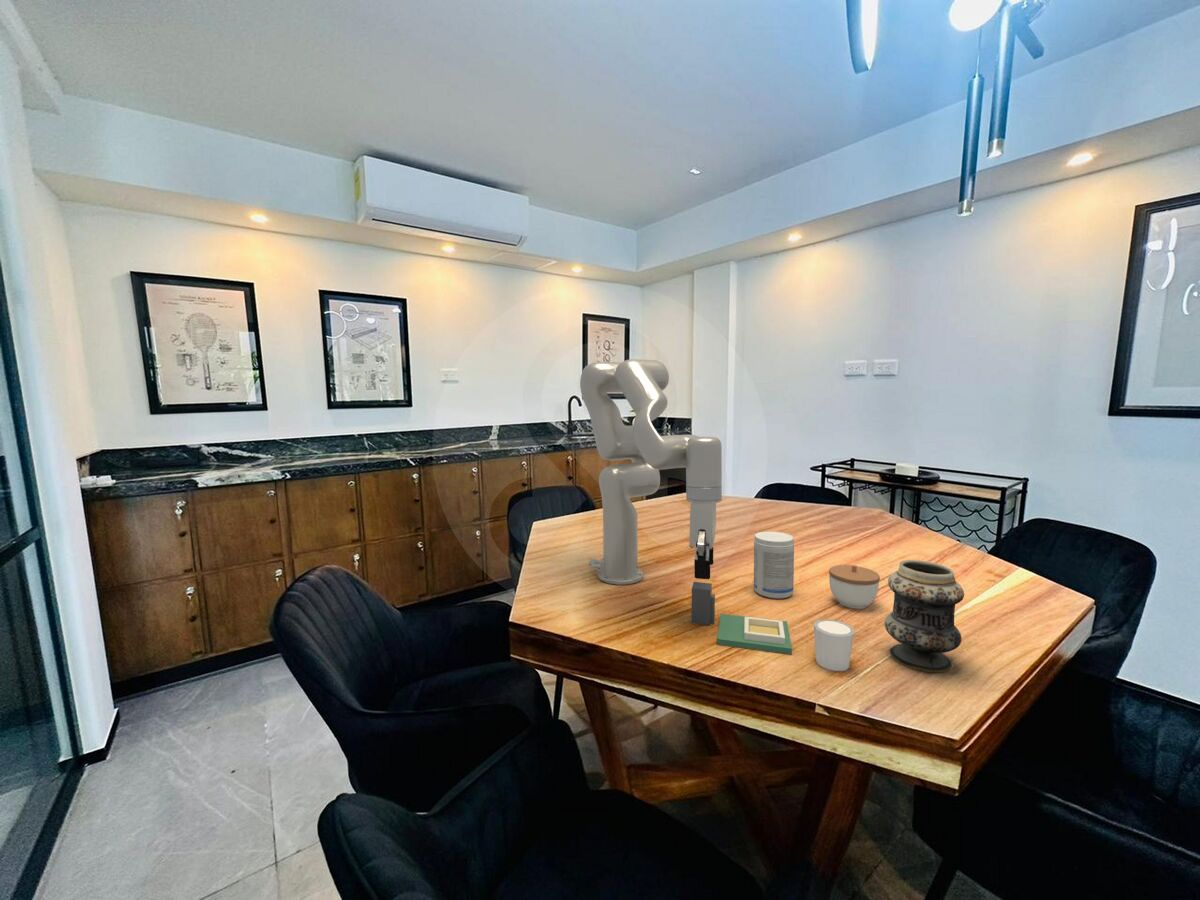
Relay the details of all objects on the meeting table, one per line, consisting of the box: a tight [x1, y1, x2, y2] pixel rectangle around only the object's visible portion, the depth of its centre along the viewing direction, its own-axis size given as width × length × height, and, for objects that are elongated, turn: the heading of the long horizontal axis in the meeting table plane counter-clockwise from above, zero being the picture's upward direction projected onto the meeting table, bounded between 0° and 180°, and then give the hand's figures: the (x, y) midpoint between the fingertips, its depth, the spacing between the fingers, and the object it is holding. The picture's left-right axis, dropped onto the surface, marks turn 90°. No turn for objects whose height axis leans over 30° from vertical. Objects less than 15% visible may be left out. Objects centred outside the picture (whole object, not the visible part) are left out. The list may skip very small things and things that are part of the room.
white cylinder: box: [813, 618, 855, 672], centre depth 90 cm, size 7×7×7 cm
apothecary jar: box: [883, 559, 965, 674], centre depth 91 cm, size 12×12×18 cm
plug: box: [690, 581, 716, 626], centre depth 108 cm, size 5×4×8 cm
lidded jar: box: [828, 564, 881, 610], centre depth 116 cm, size 11×11×9 cm
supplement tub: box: [753, 531, 795, 600], centre depth 123 cm, size 10×10×15 cm
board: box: [716, 613, 793, 655], centre depth 101 cm, size 14×12×3 cm
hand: (704, 570), depth 107 cm, fingers open, 9 cm apart
